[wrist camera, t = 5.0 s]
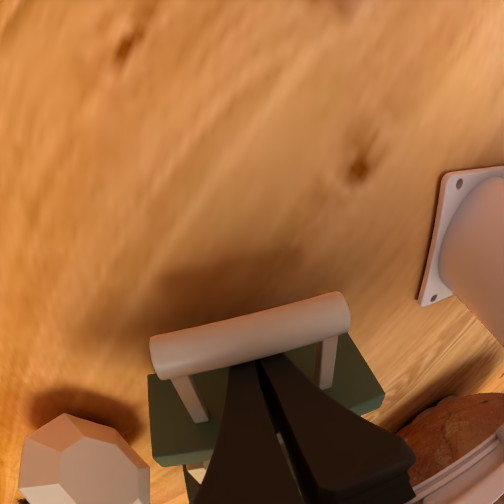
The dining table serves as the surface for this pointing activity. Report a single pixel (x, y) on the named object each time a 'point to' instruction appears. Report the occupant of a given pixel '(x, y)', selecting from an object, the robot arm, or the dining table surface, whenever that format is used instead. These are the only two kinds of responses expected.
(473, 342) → the dining table surface
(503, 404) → the jug
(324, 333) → the green drawer
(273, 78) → the dining table surface
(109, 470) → the chicken leg
